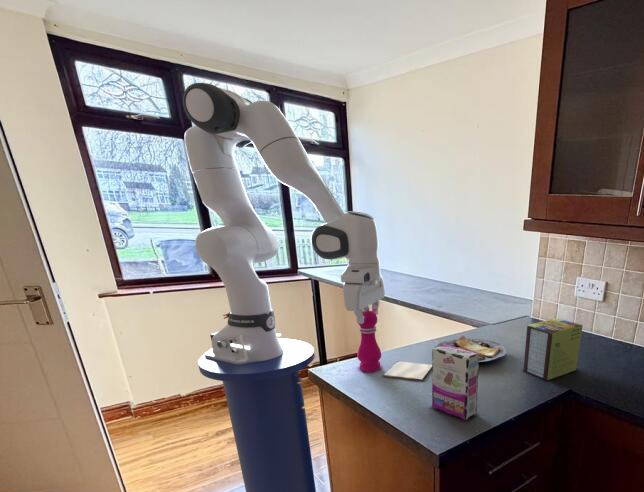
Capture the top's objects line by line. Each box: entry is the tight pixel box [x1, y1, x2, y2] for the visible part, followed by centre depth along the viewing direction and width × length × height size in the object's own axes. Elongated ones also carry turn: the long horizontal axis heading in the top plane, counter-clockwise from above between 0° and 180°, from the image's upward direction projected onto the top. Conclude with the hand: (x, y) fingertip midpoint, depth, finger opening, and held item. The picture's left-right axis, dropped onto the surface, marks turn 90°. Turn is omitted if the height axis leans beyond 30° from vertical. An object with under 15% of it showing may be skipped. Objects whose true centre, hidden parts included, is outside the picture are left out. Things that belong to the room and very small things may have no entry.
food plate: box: [435, 335, 507, 363], centre depth 142 cm, size 25×23×4 cm
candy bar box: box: [431, 344, 480, 421], centre depth 101 cm, size 11×5×16 cm, turn 55°
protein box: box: [522, 317, 584, 381], centre depth 130 cm, size 10×15×16 cm
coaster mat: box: [383, 360, 432, 381], centre depth 127 cm, size 12×12×1 cm
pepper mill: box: [356, 306, 382, 373], centre depth 124 cm, size 7×7×20 cm
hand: (368, 318), depth 121 cm, fingers open, 8 cm apart
